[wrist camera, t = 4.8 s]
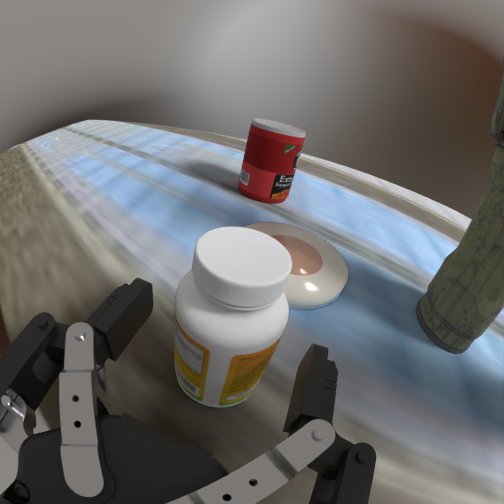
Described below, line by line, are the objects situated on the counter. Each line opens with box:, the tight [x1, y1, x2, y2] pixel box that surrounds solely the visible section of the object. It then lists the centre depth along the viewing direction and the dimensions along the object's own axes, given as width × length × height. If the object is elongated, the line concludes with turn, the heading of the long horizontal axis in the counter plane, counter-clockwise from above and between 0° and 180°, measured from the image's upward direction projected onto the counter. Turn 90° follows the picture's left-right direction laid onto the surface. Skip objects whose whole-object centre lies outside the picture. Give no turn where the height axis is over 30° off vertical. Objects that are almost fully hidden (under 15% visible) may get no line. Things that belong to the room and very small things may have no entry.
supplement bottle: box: [174, 227, 292, 408], centre depth 14 cm, size 5×5×10 cm
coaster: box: [243, 222, 348, 310], centre depth 27 cm, size 12×12×2 cm
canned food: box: [239, 119, 305, 203], centre depth 39 cm, size 8×8×11 cm
